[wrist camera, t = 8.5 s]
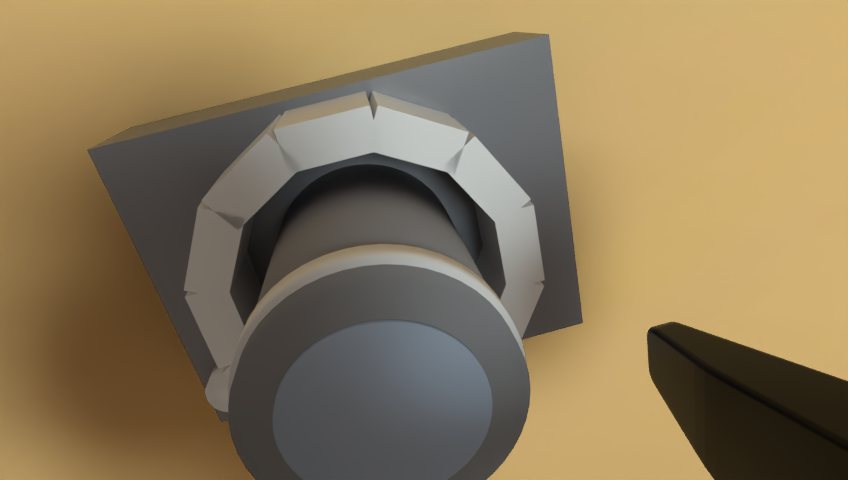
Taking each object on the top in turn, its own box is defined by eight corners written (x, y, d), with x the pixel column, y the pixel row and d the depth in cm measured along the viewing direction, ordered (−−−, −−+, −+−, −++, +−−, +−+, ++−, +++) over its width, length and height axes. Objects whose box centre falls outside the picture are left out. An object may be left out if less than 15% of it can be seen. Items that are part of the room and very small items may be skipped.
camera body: (514, 31, 16) (589, 37, 11) (550, 281, 20) (619, 368, 15) (131, 127, 16) (33, 176, 11) (238, 365, 20) (202, 485, 15)
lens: (436, 139, 14) (513, 236, 8) (471, 302, 16) (556, 487, 10) (247, 187, 14) (163, 330, 8) (307, 346, 16) (282, 566, 10)
